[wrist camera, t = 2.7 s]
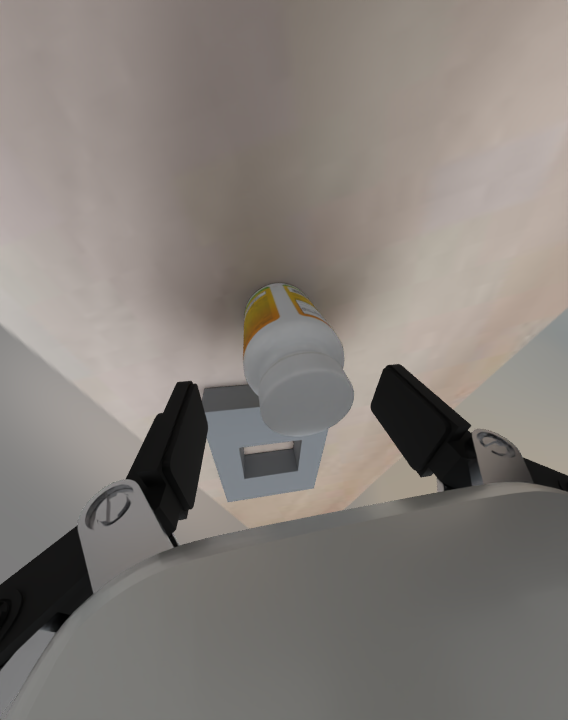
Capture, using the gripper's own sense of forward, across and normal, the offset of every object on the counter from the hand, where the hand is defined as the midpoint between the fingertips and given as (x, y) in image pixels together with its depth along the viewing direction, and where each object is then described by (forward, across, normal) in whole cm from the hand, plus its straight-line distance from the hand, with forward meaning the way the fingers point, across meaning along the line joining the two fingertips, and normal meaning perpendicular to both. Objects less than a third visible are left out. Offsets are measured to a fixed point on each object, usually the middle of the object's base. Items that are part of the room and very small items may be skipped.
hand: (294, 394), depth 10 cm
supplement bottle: (+8, 0, -1) cm, 8 cm away
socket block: (+8, +1, +15) cm, 17 cm away
